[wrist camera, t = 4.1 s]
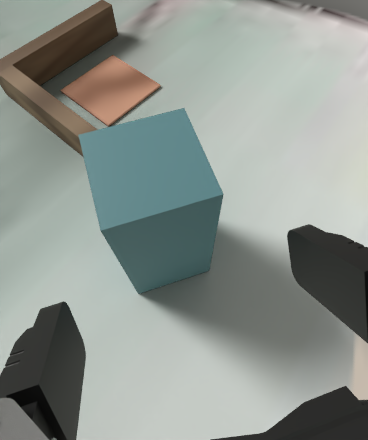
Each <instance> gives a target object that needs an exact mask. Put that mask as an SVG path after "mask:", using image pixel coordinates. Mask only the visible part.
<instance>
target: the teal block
mask: <svg viewBox="0 0 368 440" xmlns="http://www.w3.org/2000/svg"><path fill="white" fill-rule="evenodd" d="M79 140H80V144H81V148H82V153H83V157H84V161H85V165H86V170H87V174H88V178H89V183H90V187H91V191H92V196H93V200H94V204H95V208H96V213H97V217H98V221H99V226H100V230H101V232H102V234H103V235H104V237H105V239H106V240H107V242H108V244H109V245H110V247H111V249H112V250H113V252H114V254H115V255H116V257H117V259H118V261H119V262H120V264H121V266H122V267H123V269H124V271H125V272H126V274H127V276H128V277H129V279H130V281H131V282H132V284H133V286H134V287H135V289H136V291H137V292H138V294H140V293H143V292H146V291H149V290H152V289H155V288H158V287H161V286H164V285H167V284H170V283H173V282H176V281H179V280H183V279H186V278H189V277H192V276H195V275H198V274H201V273H204V272H207V271H209V269H210V263H211V258H212V253H213V247H214V242H215V236H216V231H217V226H218V220H219V215H220V210H221V204H222V199H223V192H222V190H221V188H220V186H219V184H218V181H217V179H216V177H215V175H214V173H213V170H212V168H211V166H210V164H209V162H208V159H207V157H206V155H205V153H204V151H203V148H202V146H201V144H200V142H199V140H198V137H197V135H196V133H195V131H194V129H193V126H192V124H191V122H190V120H189V118H188V116H187V113H186V111H185V109H184V108H182V109H178V110H174V111H170V112H166V113H162V114H159V115H155V116H151V117H147V118H143V119H139V120H135V121H131V122H127V123H123V124H119V125H115V126H111V127H107V128H103V129H99V130H95V131H92V132H88V133H84V134H80V135H79Z"/></svg>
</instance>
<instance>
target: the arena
mask: <svg viewBox="0 0 368 440" xmlns="http://www.w3.org/2000/svg"><path fill="white" fill-rule="evenodd" d="M117 35H118V33H117V28H116V23H115V18H114V14H113V9H112V5H111V4H109V3H107V2H106V1H104V0H101V1H99V2H97V3H96V4H94V5H92V6H90V7H89V8H87V9H85V10H84V11H82V12H80V13H78V14H77V15H75V16H73V17H72V18H70V19H68V20H67V21H65V22H63V23H61V24H60V25H58V26H56V27H55V28H53V29H51V30H49V31H48V32H46V33H44V34H43V35H41V36H39V37H38V38H36V39H34V40H32V41H31V42H29V43H27V44H26V45H24V46H22V47H20V48H19V49H17V50H15V51H14V52H12V53H10V54H8V55H7V56H5V57H3V58H2V59H0V85H1V87H2V88H3V90H4V91H5V93H6V94H7V95H8V96H9V97H10V98H11V99H13V100H14V101H15V102H16V103H18V104H19V105H20V106H21V107H23V108H24V109H25V110H26V111H27V112H29V113H30V114H31V115H32V116H34V117H35V118H36V119H37V120H39V121H40V122H41V123H42V124H43V125H45V126H46V127H47V128H48V129H50V130H51V131H52V132H53V133H55V134H56V135H57V136H58V137H59V138H61V139H62V140H63V141H64V142H66V143H67V144H68V145H69V146H71V147H72V148H73V149H74V150H75V151H77V152H78V153H79V154H80V155H82V156H83V153H82V148H81V144H80V140H79V135H80V134H84V133H88V132H92V131H95V130H97V129H96V128H95V127H93V126H92V125H91V124H89V123H88V122H87V121H85V120H84V119H83V118H81V117H80V116H79V115H77V114H76V113H75V112H73V111H72V110H71V109H69V108H68V107H67V106H65V105H64V104H63V103H62V102H60V101H59V100H58V99H56V98H55V97H54V96H52V95H51V94H50V93H48V92H47V91H46V90H44V89H43V88H42V87H40V85H42V84H43V83H45V82H46V81H48V80H50V79H51V78H53V77H54V76H56V75H57V74H59V73H60V72H62V71H63V70H65V69H66V68H68V67H70V66H71V65H73V64H74V63H76V62H77V61H79V60H80V59H82V58H83V57H85V56H87V55H88V54H90V53H91V52H93V51H94V50H96V49H97V48H99V47H100V46H102V45H103V44H105V43H107V42H108V41H110V40H111V39H113V38H114V37H116V36H117ZM160 87H161V86H160V84H158V83H157V82H155V81H153V80H152V79H150V78H149V77H147V76H145V75H144V74H142V73H141V72H139V71H138V70H136V69H134V68H133V67H131V66H130V65H128V64H126V63H125V62H123V61H122V60H120V59H118V58H117V57H115V56H114V55H112V56H110V57H109V58H107V59H106V60H104V61H103V62H101V63H100V64H98V65H97V66H96V67H94V68H93V69H91V70H90V71H88V72H87V73H85V74H84V75H82V76H81V77H79V78H78V79H76V80H75V81H73V82H72V83H70V84H69V85H67V86H66V87H64V88H63V89H61V92H62V93H64V94H65V95H66V96H68V97H69V98H70V99H72V100H73V101H74V102H76V103H77V104H78V105H80V106H81V107H82V108H84V109H85V110H87V111H88V112H89V113H91V114H92V115H93V116H95V117H96V118H97V119H99V120H100V121H101V122H103V123H104V124H106V125H107V126H108V127H109V126H110V125H111V124H113V123H114V122H115V121H117V120H118V119H119V118H121V117H122V116H123V115H124V114H126V113H127V112H128V111H130V110H131V109H132V108H134V107H135V106H136V105H137V104H139V103H140V102H141V101H143V100H144V99H145V98H147V97H148V96H149V95H150V94H152V93H153V92H154V91H156V90H157V89H158V88H160Z"/></svg>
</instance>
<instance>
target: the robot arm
mask: <svg viewBox="0 0 368 440" xmlns="http://www.w3.org/2000/svg"><path fill="white" fill-rule="evenodd" d="M287 238H288V246H289V253H290V261H291V268H292V272H293V275H294V278H295V279H296V281H297V283H298V284H299V285H300V286H301V287H302V288H304V289H305V290H306V291H307V292H308V293H309V294H311V295H312V296H313V297H314V298H315V299H316V300H318V301H319V302H320V303H321V304H322V305H323V306H325V307H326V308H327V309H328V310H329V311H331V312H332V313H333V314H334V315H335V316H336V317H338V318H339V319H340V320H341V321H342V322H343V323H345V324H346V325H347V326H348V327H349V328H350V329H352V330H353V331H354V332H355V333H356V334H357V335H359V336H360V337H361V338H362V339H363V340H365V341H366V342H367V343H368V247H364V245H361V244H359V243H357V242H354V241H353V240H351V239H349V238H347V237H345V236H343V235H338V234H333V233H328V232H327V233H326V232H324V231H322V230H320V229H318V228H316V227H314V226H312V225H310V224H308V225H305V226H302V227H299V228H296V229H292V230H290V231H289V232H288V235H287ZM85 360H86V353H85V346H84V342H83V339H82V337H81V335H80V332H79V330H78V327H77V325H76V323H75V320H74V318H73V316H72V313H71V311H70V308H69V306H68V305H67V303H66V302H61V303H58V304H55V305H51V306H48V307H45V308H42V309H40V311H39V314H38V316H37V319H36V321H35V324H34V326H33V327H32V328H29V329H27V330H26V331H25V332H24V333H23V334H22V335H21V336H20V338H19V339H18V340H17V341H16V342H15V344H14V347H13V349H12V351H11V353H10V357H9V358H8V360H7V362H6V364H5V366H6V367H5V368H4V369H3V371H2V373H1V375H0V440H76V436H77V428H78V419H79V411H80V402H81V394H82V385H83V377H84V368H85ZM211 440H368V400H358V399H357V398H356V397H355V396H354V394H353V393H352V392H351V391H350V390H349V389H348V388H347V387H346V386H344V387H342V388H339V389H337V390H334V391H332V392H329V393H327V394H324V395H322V396H319V397H317V398H314V399H312V400H309V401H307V402H304V403H303V404H301V405H300V406H299V407H297V408H296V409H295V410H294V411H292V412H291V413H290V414H288V415H287V416H286V417H285V418H283V419H282V420H281V421H279V422H278V423H277V424H276V425H274V426H273V427H272V428H270V429H269V430H268V431H266V432H264V433H260V434H252V435H244V436H236V437H228V438H220V439H211Z"/></svg>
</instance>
